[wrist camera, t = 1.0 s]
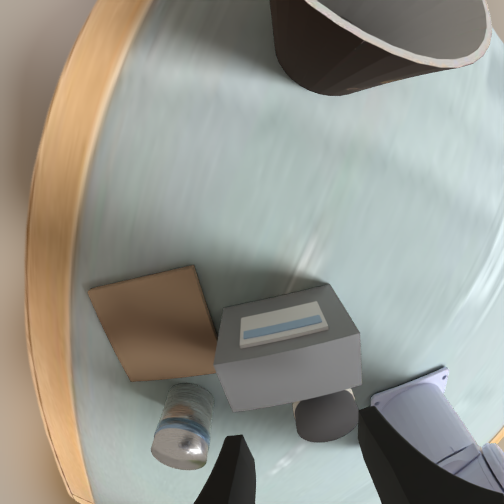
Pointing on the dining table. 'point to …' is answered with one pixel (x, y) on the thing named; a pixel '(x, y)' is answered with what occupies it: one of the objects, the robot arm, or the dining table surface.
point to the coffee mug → (375, 40)
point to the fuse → (184, 428)
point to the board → (158, 325)
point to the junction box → (287, 349)
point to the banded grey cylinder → (326, 416)
